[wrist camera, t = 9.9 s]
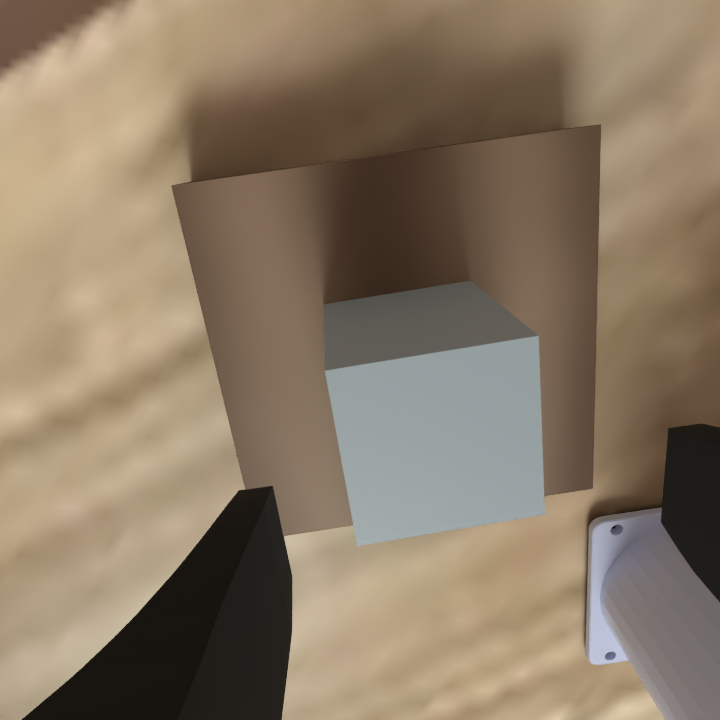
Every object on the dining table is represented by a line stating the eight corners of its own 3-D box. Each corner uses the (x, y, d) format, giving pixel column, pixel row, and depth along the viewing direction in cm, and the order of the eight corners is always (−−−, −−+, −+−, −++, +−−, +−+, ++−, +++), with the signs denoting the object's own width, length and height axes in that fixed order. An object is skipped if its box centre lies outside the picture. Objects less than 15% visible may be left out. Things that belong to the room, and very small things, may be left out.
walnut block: (557, 129, 18) (601, 124, 15) (558, 446, 22) (592, 488, 19) (195, 180, 18) (171, 185, 15) (265, 491, 22) (257, 539, 19)
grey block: (470, 280, 17) (539, 335, 11) (481, 413, 18) (544, 514, 13) (323, 304, 16) (325, 370, 11) (346, 435, 18) (357, 545, 13)
